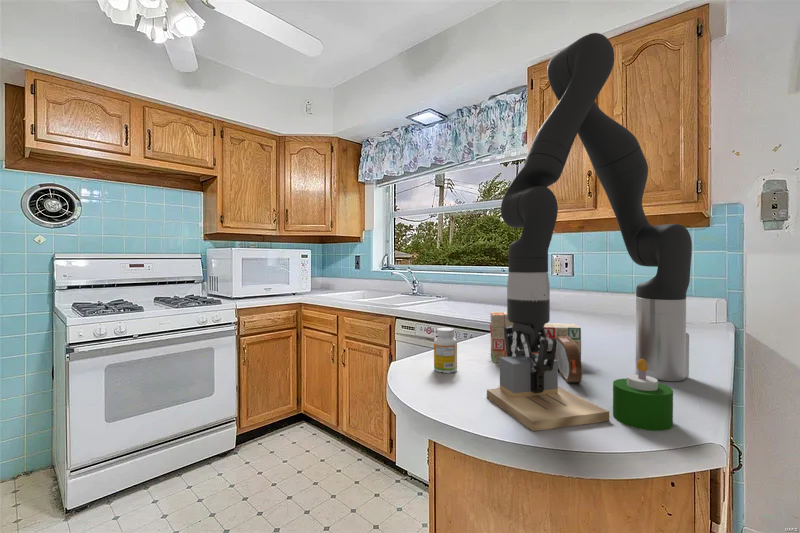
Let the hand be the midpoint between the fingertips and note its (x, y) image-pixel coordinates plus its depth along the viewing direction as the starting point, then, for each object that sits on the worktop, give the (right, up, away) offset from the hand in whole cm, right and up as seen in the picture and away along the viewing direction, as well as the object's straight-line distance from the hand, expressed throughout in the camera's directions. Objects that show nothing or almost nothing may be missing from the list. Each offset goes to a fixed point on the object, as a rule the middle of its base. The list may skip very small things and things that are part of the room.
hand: (528, 386), depth 73 cm
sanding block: (0, -1, 0) cm, 1 cm away
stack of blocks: (+10, -2, +27) cm, 29 cm away
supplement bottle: (-13, -2, +19) cm, 23 cm away
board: (+1, -2, -4) cm, 5 cm away
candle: (+15, -3, -9) cm, 18 cm away
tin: (+13, -2, +14) cm, 19 cm away
